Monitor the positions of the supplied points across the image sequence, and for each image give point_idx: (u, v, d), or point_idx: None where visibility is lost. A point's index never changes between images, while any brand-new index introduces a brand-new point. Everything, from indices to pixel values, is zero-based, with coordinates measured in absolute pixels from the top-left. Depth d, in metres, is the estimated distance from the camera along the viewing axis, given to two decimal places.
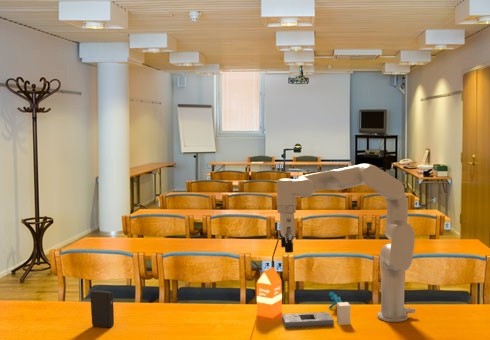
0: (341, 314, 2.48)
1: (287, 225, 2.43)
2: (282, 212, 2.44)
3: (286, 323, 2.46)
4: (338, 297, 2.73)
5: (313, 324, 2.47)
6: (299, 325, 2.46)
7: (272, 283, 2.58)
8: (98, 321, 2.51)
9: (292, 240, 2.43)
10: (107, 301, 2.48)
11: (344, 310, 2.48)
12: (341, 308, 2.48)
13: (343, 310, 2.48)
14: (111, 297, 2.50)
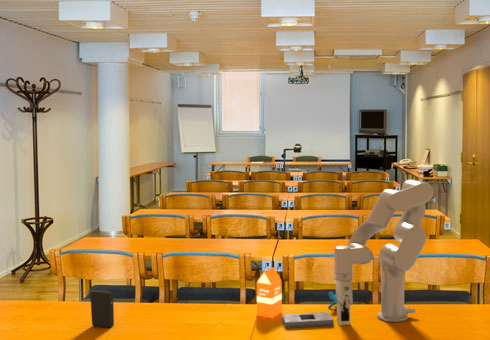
0: None
1: (345, 293, 2.45)
2: (340, 280, 2.46)
3: (286, 323, 2.46)
4: None
5: (313, 324, 2.47)
6: (299, 325, 2.46)
7: (272, 283, 2.58)
8: (98, 321, 2.51)
9: (348, 310, 2.47)
10: (107, 301, 2.48)
11: None
12: (341, 308, 2.48)
13: None
14: (111, 297, 2.50)
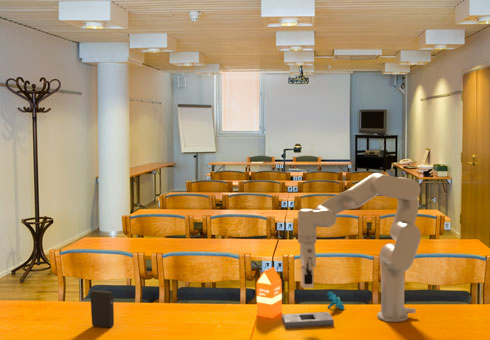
0: (304, 277, 2.47)
1: (308, 256, 2.44)
2: (303, 242, 2.45)
3: (286, 323, 2.46)
4: (337, 297, 2.73)
5: (313, 324, 2.47)
6: (299, 325, 2.46)
7: (272, 283, 2.58)
8: (98, 321, 2.51)
9: None
10: (107, 301, 2.48)
11: None
12: (304, 271, 2.47)
13: None
14: (111, 297, 2.50)
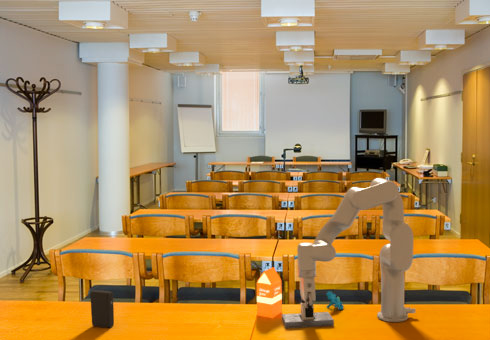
0: (304, 314, 2.49)
1: (308, 290, 2.45)
2: (303, 277, 2.46)
3: (286, 323, 2.46)
4: (337, 297, 2.74)
5: (313, 324, 2.47)
6: (299, 325, 2.46)
7: (272, 283, 2.58)
8: (98, 321, 2.51)
9: (312, 305, 2.45)
10: (107, 301, 2.48)
11: None
12: (304, 308, 2.49)
13: None
14: (111, 297, 2.50)
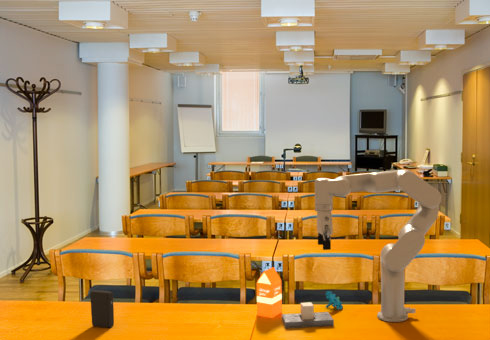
0: (304, 314, 2.49)
1: (325, 223, 2.50)
2: (320, 210, 2.52)
3: (286, 323, 2.46)
4: (337, 297, 2.74)
5: (313, 324, 2.47)
6: (299, 325, 2.46)
7: (272, 283, 2.58)
8: (98, 321, 2.51)
9: (330, 238, 2.50)
10: (107, 301, 2.48)
11: (308, 310, 2.49)
12: (304, 308, 2.49)
13: (307, 310, 2.49)
14: (111, 297, 2.50)
